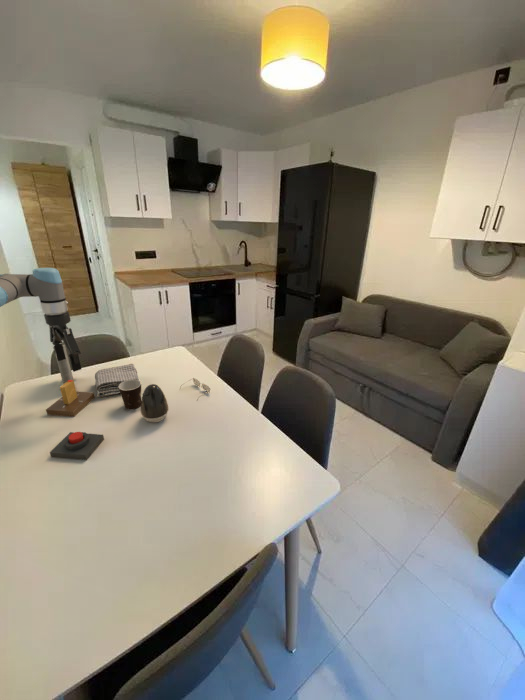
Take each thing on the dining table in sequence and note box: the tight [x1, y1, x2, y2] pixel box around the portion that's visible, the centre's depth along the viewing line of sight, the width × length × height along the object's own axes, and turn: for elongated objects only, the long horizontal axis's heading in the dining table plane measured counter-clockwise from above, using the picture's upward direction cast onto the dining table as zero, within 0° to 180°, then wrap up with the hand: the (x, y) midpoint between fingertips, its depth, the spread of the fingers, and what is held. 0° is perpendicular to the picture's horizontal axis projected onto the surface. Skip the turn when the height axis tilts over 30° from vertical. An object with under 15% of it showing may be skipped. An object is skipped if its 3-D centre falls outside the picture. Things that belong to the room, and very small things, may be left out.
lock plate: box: [45, 390, 96, 418], centre depth 120 cm, size 14×11×3 cm
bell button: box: [69, 431, 84, 444], centre depth 97 cm, size 4×4×2 cm
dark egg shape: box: [140, 383, 170, 423], centre depth 112 cm, size 10×10×15 cm
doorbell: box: [49, 431, 105, 461], centre depth 98 cm, size 12×10×4 cm
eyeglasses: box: [179, 377, 211, 401], centre depth 133 cm, size 14×8×4 cm, turn 49°
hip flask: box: [52, 344, 74, 385], centre depth 131 cm, size 16×4×20 cm, turn 33°
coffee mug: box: [118, 379, 142, 411], centre depth 119 cm, size 12×9×10 cm
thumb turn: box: [59, 379, 78, 404], centre depth 118 cm, size 6×2×8 cm, turn 176°
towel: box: [94, 363, 143, 398], centre depth 134 cm, size 15×18×8 cm
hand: (69, 364), depth 113 cm, fingers open, 13 cm apart
